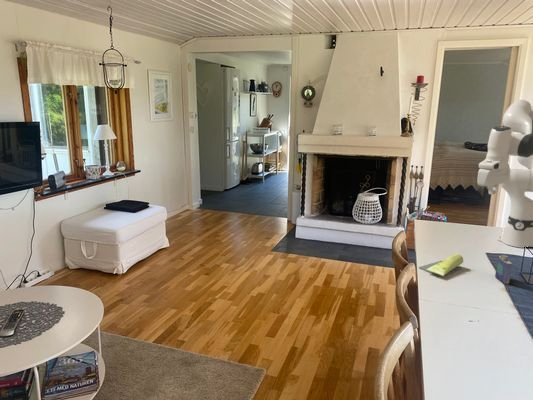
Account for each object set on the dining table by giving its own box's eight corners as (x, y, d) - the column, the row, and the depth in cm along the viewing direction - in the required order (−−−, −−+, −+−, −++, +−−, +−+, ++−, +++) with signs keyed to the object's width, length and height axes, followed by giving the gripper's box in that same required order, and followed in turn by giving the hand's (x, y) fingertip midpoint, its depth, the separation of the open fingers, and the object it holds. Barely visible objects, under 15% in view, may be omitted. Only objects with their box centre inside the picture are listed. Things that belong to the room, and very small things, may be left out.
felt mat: (441, 261, 184) (441, 260, 184) (461, 268, 176) (461, 267, 176) (418, 268, 176) (418, 267, 176) (438, 276, 168) (438, 275, 168)
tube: (460, 251, 177) (436, 264, 166) (467, 261, 175) (443, 276, 164) (450, 255, 181) (426, 269, 170) (456, 266, 180) (432, 280, 169)
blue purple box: (510, 284, 161) (514, 259, 158) (502, 284, 161) (506, 259, 159) (500, 275, 170) (504, 251, 167) (493, 274, 170) (496, 251, 168)
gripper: (502, 161, 186) (497, 190, 189) (476, 164, 175) (472, 194, 178) (516, 163, 181) (511, 193, 184) (490, 165, 170) (486, 197, 173)
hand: (491, 194), depth 181 cm, fingers closed
